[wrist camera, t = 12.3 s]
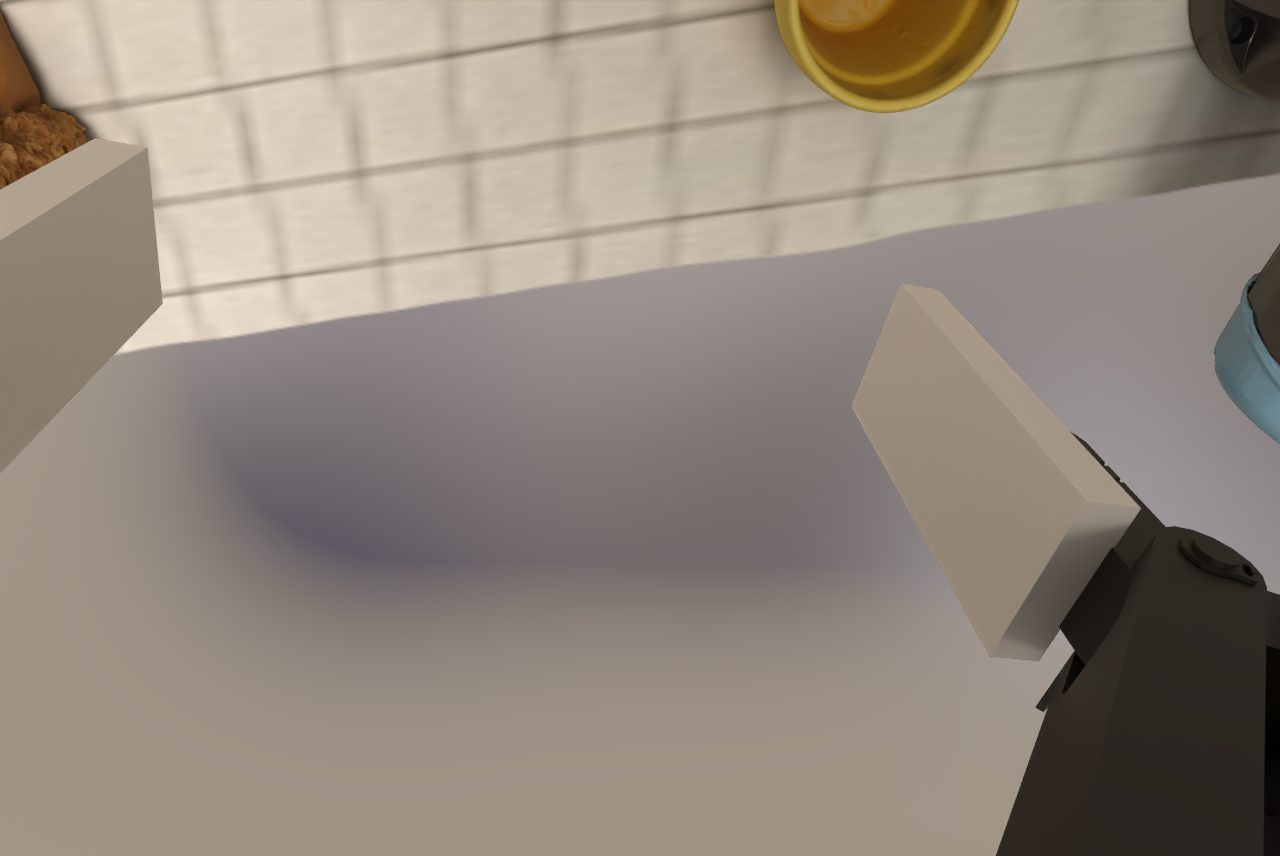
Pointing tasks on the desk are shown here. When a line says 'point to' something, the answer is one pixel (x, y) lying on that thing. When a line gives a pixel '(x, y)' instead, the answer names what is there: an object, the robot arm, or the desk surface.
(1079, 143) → the desk surface
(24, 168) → the stuffed squirrel
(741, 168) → the desk surface
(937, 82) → the plant pot
